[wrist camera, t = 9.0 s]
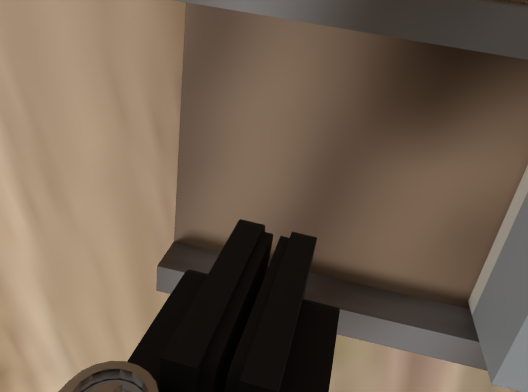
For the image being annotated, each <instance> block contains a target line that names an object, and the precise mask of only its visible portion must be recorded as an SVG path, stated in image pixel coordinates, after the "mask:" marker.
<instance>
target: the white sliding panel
mask: <svg viewBox="0 0 528 392" xmlns="http://www.w3.org/2000/svg"><path fill="white" fill-rule="evenodd" d="M468 303H469V307H470V310H471V314H472V317H473V321H474V324H475V328H476V331H477V335H478V338H479V342H480V345H481V349H482V353H483V356H484V360H485V363H486V367H487V370H488V374H489V377H490V381H491V384H492V385H496V386H501V387H505V388H509V389H513V390H517V391H521V392H528V165H527V168H526V170H525V172H524V174H523V177H522V179H521V181H520V184H519V186H518V188H517V190H516V193H515V195H514V197H513V200H512V202H511V204H510V207H509V209H508V211H507V213H506V216H505V218H504V220H503V223H502V225H501V227H500V229H499V232H498V234H497V236H496V239H495V241H494V243H493V245H492V248H491V250H490V252H489V255H488V257H487V259H486V262H485V264H484V266H483V268H482V271H481V273H480V275H479V278H478V280H477V282H476V284H475V287H474V289H473V291H472V294H471V296H470V298H469V300H468Z"/></svg>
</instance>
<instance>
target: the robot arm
mask: <svg viewBox="0 0 528 392" xmlns="http://www.w3.org/2000/svg"><path fill="white" fill-rule="evenodd" d="M272 241H273V234H272V233H268V232H265V225H263V224H259V223H255V222H251V221H247V220H242V219H240V220H239V221H238V222H237V224H236V226H235V228H234V230H233V231H232V233H231V235H230V237H229V238H228V240H227V242H226V244H225V245H224V247H223V249H222V251H221V252H220V254H219V256H218V258H217V259H216V261H215V263H214V265H213V267H212V268H211V270H210V272H209V274H206V273H202V272H198V271H195V270H191V269H189V270H187V271H186V272H185V273H184V275H183V276H182V278H181V279H180V281H179V282H178V284H177V285H176V287H175V288H174V290H173V291H172V293H171V295H170V296H169V298H168V299H167V301H166V302H165V304H164V305H163V307H162V309H161V310H160V312H159V313H158V315H157V316H156V318H155V319H154V321H153V323H152V324H151V326H150V327H149V329H148V330H147V332H146V333H145V335H144V337H143V338H142V340H141V341H140V343H139V344H138V346H137V347H136V349H135V350H134V352H133V354H132V355H131V357H130V358H129V360H128V361H127V362H125V361H109V362H104V363H99V364H95V365H93V366H91V367H89V368H87V369H85V370H82V371H81V372H79V373H78V374H77V375H76V376H74V377H73V378H72V379H71V380H69V381H68V382H67V383H66V384H65V385H64V387H63V388H62V389H61V390H60V391H59V392H329V385H330V377H331V370H332V363H333V356H334V349H335V342H336V335H337V328H338V320H339V313H340V308H337V307H333V306H329V305H326V304H322V303H318V302H314V301H310V300H306V299H304V296H305V291H306V287H307V282H308V278H309V273H310V269H311V264H312V260H313V255H314V251H315V246H316V242H317V237H313V236H309V235H305V234H301V233H297V232H292V233H291V235H290V238H288V237H284V236H280V238H279V241H278V243H277V246H276V249H275V251H274V254H273V256H272V259H271V261H270V264H269V259H270V253H271V247H272ZM268 265H269V267H268Z"/></svg>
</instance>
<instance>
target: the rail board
mask: <svg viewBox="0 0 528 392" xmlns="http://www.w3.org/2000/svg"><path fill="white" fill-rule="evenodd" d="M176 1H182V2H186V13H185V34H184V54H183V74H182V94H181V114H180V134H179V154H178V174H177V194H176V215H175V235H174V242H173V244H172V245H171V247H170V248H169V250H168V251H167V253H166V254H165V255H164V257H163V258H162V260H161V261H160V263H159V264H158V266H157V289H156V290H157V291H161V292H165V293H169V294H171V293H172V291H173V290H174V288H175V287H176V285H177V284H178V282H179V281H180V279H181V278H182V276H183V275H184V273H185V272H186V271H187V270H189V269H191V270H195V271H198V272H202V273H206V274H209V272H210V270H211V268H212V267H213V265H214V263H215V261H216V259H217V258H218V256H219V254H220V252H221V251H222V249H223V247H224V245H225V244H226V242H227V240H228V238H229V237H230V235H231V233H232V231H233V230H234V228H235V226H236V224H237V222H238V221H239V220H240V219H242V220H247V221H251V222H255V223H259V224H263V225H265V232H268V233H272V234H273V241H272V247H271V253H270V259H269V264H270V261H271V259H272V256H273V254H274V251H275V249H276V246H277V243H278V241H279V238H280V236H284V237H288V238H290V235H291V233H292V232H297V233H301V234H305V235H309V236H313V237H317V242H316V246H315V251H314V255H313V260H312V264H311V269H310V273H309V278H308V282H307V287H306V291H305V296H304V299H306V300H310V301H314V302H318V303H322V304H326V305H329V306H333V307H337V308H340V313H339V320H338V328H337V334H338V335H342V336H347V337H351V338H355V339H359V340H363V341H367V342H371V343H375V344H380V345H384V346H388V347H392V348H396V349H400V350H404V351H408V352H413V353H417V354H421V355H425V356H429V357H433V358H437V359H441V360H446V361H450V362H454V363H458V364H462V365H466V366H470V367H474V368H479V369H483V370H487V367H486V363H485V360H484V356H483V353H482V349H481V345H480V342H479V338H478V335H477V331H476V328H475V324H474V321H473V317H472V314H471V310H470V307H469V303H468V300H469V298H470V296H471V294H472V291H473V289H474V287H475V284H476V282H477V280H478V278H479V275H480V273H481V271H482V268H483V266H484V264H485V262H486V259H487V257H488V255H489V252H490V250H491V248H492V245H493V243H494V241H495V239H496V236H497V234H498V232H499V229H500V227H501V225H502V223H503V220H504V218H505V216H506V213H507V211H508V209H509V207H510V204H511V202H512V200H513V197H514V195H515V193H516V190H517V188H518V186H519V184H520V181H521V179H522V177H523V174H524V172H525V170H526V168H527V165H528V4H524V3H518V2H512V1H505V0H176ZM268 267H269V265H268ZM487 371H488V370H487Z"/></svg>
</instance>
